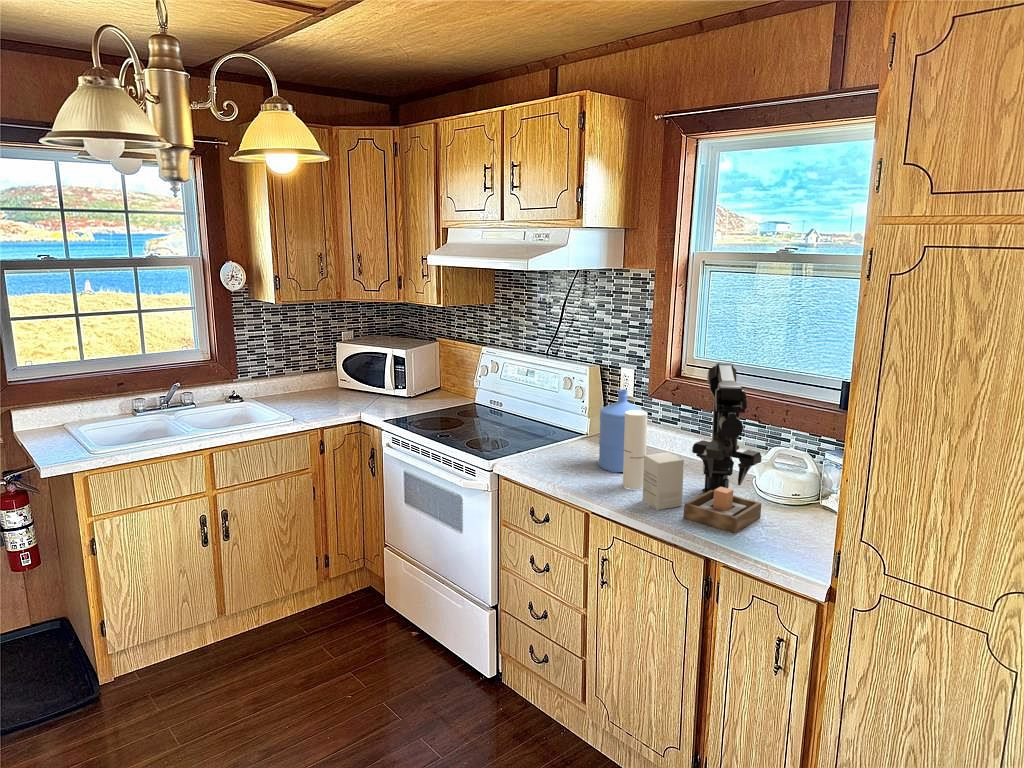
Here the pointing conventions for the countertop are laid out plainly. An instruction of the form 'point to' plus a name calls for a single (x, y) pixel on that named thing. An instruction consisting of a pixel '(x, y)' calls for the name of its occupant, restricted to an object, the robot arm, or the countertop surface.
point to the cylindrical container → (634, 448)
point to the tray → (722, 517)
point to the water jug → (613, 433)
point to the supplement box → (663, 480)
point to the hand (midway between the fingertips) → (724, 481)
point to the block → (723, 498)
